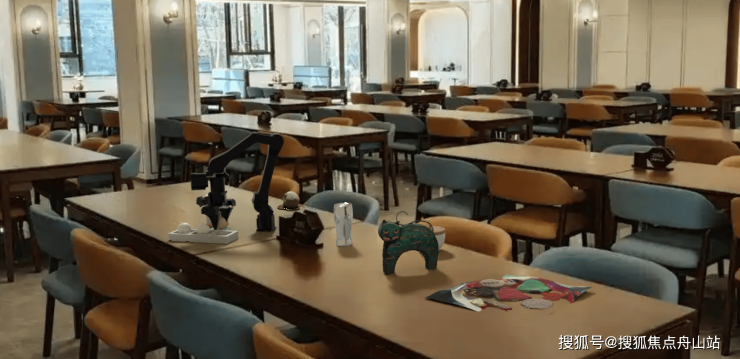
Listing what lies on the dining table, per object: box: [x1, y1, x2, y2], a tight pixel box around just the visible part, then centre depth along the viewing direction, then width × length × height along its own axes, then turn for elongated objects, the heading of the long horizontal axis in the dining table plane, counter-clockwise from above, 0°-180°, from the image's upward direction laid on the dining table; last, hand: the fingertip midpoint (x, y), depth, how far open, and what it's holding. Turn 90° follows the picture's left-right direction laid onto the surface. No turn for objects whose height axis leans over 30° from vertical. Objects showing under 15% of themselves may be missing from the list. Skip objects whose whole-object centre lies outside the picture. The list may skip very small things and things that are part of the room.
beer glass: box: [333, 202, 354, 247], centre depth 298 cm, size 7×7×15 cm
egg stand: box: [210, 226, 232, 231], centre depth 323 cm, size 6×6×2 cm
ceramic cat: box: [377, 210, 440, 276], centre depth 261 cm, size 20×6×20 cm, turn 105°
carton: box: [167, 222, 239, 245], centre depth 313 cm, size 25×9×6 cm, turn 73°
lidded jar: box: [426, 224, 446, 250], centre depth 287 cm, size 11×11×9 cm
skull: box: [277, 191, 305, 210], centre depth 371 cm, size 12×10×10 cm
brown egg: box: [217, 216, 227, 229], centre depth 323 cm, size 5×5×5 cm
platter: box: [424, 274, 593, 315], centre depth 234 cm, size 35×35×2 cm
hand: (219, 227), depth 323 cm, fingers open, 7 cm apart
